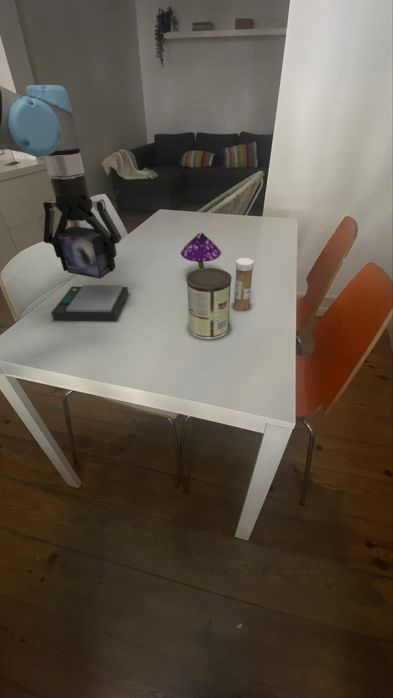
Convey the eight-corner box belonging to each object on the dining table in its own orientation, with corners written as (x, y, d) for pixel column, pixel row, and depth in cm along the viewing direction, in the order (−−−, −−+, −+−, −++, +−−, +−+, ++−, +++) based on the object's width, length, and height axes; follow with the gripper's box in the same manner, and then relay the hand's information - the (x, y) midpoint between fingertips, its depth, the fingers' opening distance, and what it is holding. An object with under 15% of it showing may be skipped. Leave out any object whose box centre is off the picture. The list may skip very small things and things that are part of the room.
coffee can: (198, 314, 86) (197, 264, 78) (234, 322, 83) (237, 271, 74) (181, 334, 79) (178, 282, 70) (219, 344, 76) (221, 290, 67)
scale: (53, 320, 85) (50, 310, 83) (73, 293, 97) (70, 283, 95) (116, 321, 84) (114, 310, 82) (128, 294, 96) (127, 284, 94)
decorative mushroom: (186, 270, 109) (185, 225, 100) (222, 272, 107) (224, 227, 98) (177, 286, 99) (174, 238, 90) (217, 289, 97) (218, 241, 88)
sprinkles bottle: (250, 310, 87) (255, 263, 79) (234, 311, 87) (237, 264, 79) (247, 302, 91) (252, 256, 83) (232, 302, 91) (234, 257, 83)
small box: (66, 273, 83) (54, 233, 77) (81, 264, 88) (72, 225, 81) (99, 279, 80) (90, 237, 73) (114, 269, 85) (106, 229, 78)
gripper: (124, 172, 72) (137, 263, 86) (23, 173, 73) (51, 263, 87) (116, 178, 66) (131, 275, 80) (6, 179, 68) (39, 274, 81)
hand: (90, 269), depth 83 cm, fingers closed on small box, 11 cm apart
